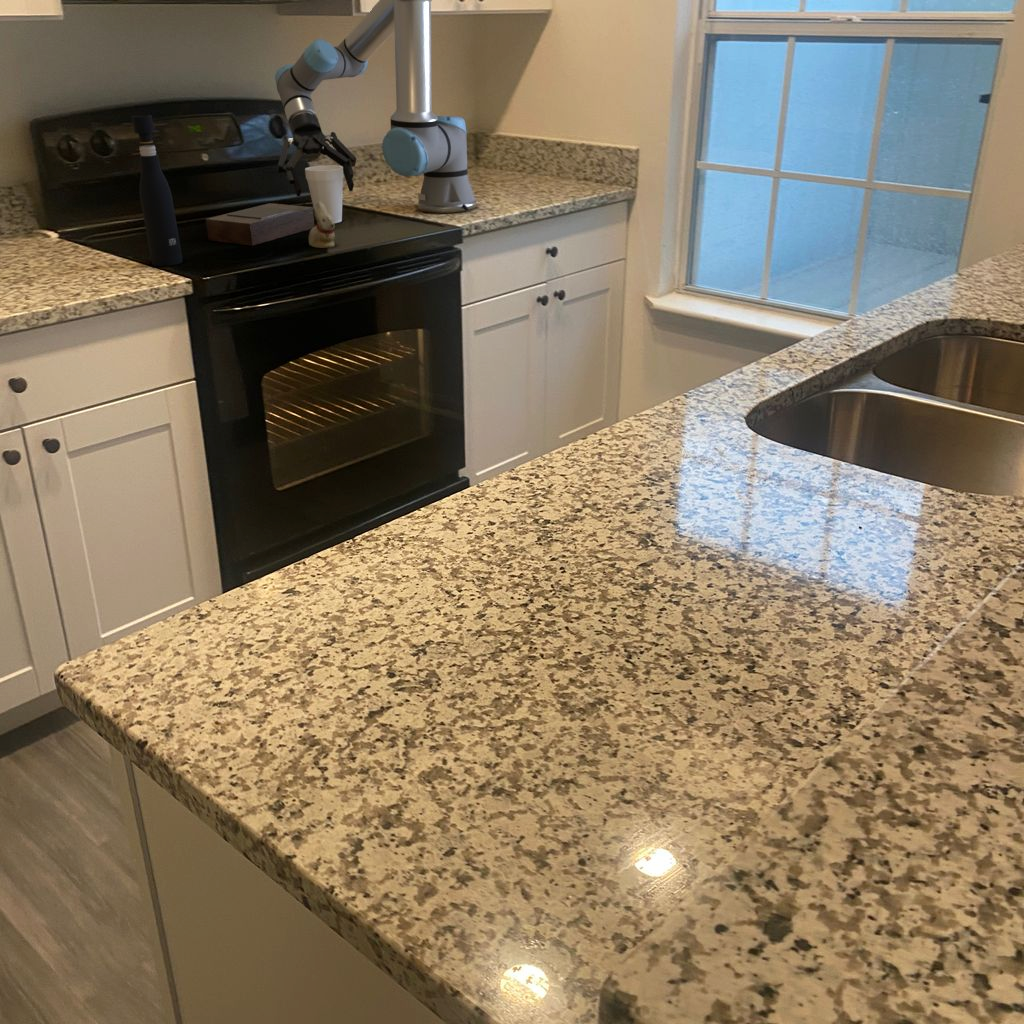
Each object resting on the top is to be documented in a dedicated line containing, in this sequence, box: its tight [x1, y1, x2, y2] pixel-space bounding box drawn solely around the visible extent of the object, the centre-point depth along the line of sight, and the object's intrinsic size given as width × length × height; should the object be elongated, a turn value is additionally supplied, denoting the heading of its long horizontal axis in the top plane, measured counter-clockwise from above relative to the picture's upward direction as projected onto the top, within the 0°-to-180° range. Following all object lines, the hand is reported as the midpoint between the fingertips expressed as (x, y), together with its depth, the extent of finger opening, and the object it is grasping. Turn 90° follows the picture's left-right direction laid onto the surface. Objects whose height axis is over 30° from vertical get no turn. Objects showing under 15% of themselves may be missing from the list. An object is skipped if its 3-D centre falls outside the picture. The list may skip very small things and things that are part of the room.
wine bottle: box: [131, 114, 184, 267], centre depth 216 cm, size 6×6×30 cm
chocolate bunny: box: [308, 201, 336, 249], centre depth 233 cm, size 6×8×10 cm
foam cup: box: [304, 164, 345, 224], centre depth 257 cm, size 10×9×13 cm
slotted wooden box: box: [205, 202, 316, 247], centre depth 247 cm, size 14×22×5 cm, turn 149°
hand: (325, 190), depth 257 cm, fingers open, 13 cm apart
